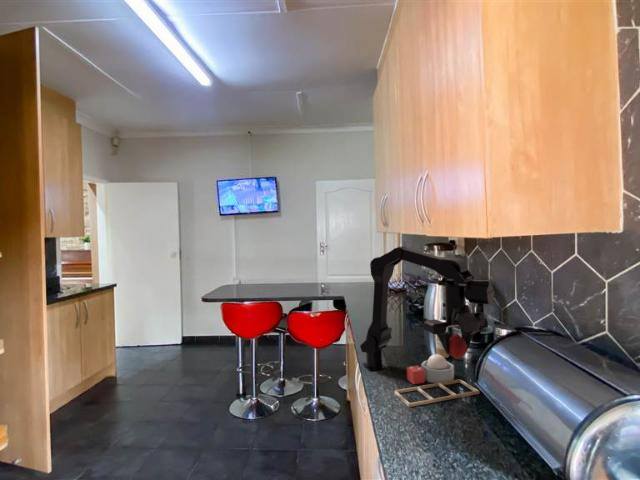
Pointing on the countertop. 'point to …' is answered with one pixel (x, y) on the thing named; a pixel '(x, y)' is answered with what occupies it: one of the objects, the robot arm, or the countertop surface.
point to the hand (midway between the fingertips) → (456, 352)
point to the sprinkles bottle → (440, 346)
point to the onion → (457, 346)
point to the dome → (437, 362)
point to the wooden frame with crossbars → (436, 398)
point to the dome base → (429, 374)
